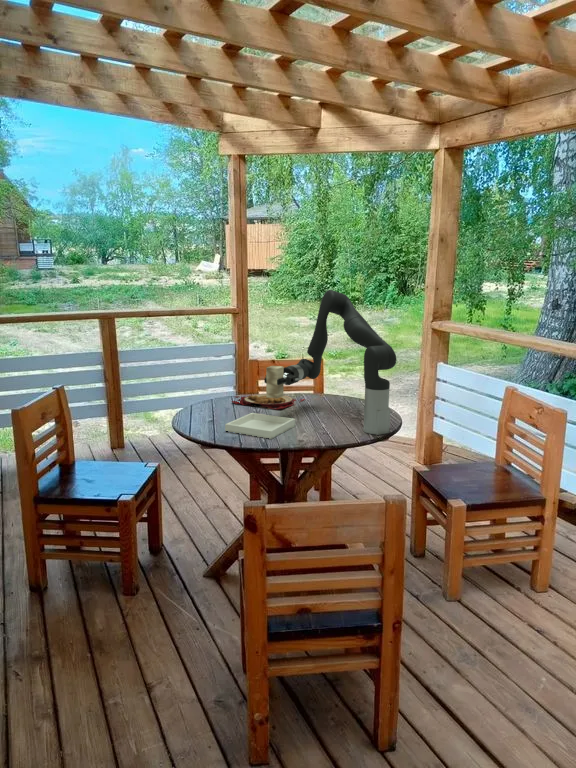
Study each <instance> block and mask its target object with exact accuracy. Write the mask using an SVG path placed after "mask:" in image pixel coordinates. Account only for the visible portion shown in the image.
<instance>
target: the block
mask: <svg viewBox="0 0 576 768" xmlns="http://www.w3.org/2000/svg"><path fill="white" fill-rule="evenodd" d="M284 368H285V367H284V366H280V365H271V366H266V370H265V372H266V375H265V378H267V383H265V384H266V389H265V391H266V393H265V394H266V397H269V398H277V399H278V398H280V397H283V395H284V386H285V384H280V385H277V380H278V379H280V378H283V377H284Z"/></svg>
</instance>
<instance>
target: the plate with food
mask: <svg viewBox="0 0 576 768" xmlns="http://www.w3.org/2000/svg"><path fill="white" fill-rule="evenodd" d="M234 398H236V399H238V400H232V401H230V402H231V403H232V404H235V405H237V404H238V405H241V406H252V404H255V405H260V407H261V409H267V410H283V409H286V408H287V407H292V406H293V405H295V402H296V401H297V399H294V398H292V397H290V396H289V395H284V394H283V397H280V398H278V399H277V398H269V397H266V393H262V394H261V393H259V394H252V395H248V396H239V395H238V396H235V395H234ZM304 400H306V399H305V398H303V399H302V398H300V399H299V401H298V403H300V402H303V401H304ZM237 401H240V403H239V402H237Z"/></svg>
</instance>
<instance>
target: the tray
mask: <svg viewBox="0 0 576 768" xmlns="http://www.w3.org/2000/svg"><path fill="white" fill-rule="evenodd" d="M294 427H296V418H293V417H291V418H290V417H285V416H279V415H278V416H277V415H270V414H264V413H258V412H251V413H248V414H245V415H243V416H241V417H239V418H236V419H234V420H232V421H229V422H227V423H225V424H224V429H225V431H229V432H235V433H234V434H236V433H241V434H240V435H242V434H246V435H245V436H248V435H252V436H251V437H254V436H257V437H256V438H260V437H263V438H262V439H266V438H269V439H268V440H272V439H274V438H276V437H278V436H280V435H282V434H284V433H285V432H287V431H289V430H291V429H292V428H294ZM225 431H224V432H225ZM229 432H228V433H229Z"/></svg>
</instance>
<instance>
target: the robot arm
mask: <svg viewBox="0 0 576 768" xmlns="http://www.w3.org/2000/svg"><path fill="white" fill-rule="evenodd" d="M330 313H331V314H335V315H338V316H339V317H341V319H342V320H343V330H344V332H345V333H346V334H347V336H348V337H349V338H350V339H351V341H352V342H354V343H355V344H357V345H359V346H360V347H363V348H365V350H364V353H363V354H364V355H363V378H364V405H363V407H364V408H363V429H362V430H363V432H364V433H366V434H369V435H377V436H379V435H385V434H389V433H390V425H391V409H390V407H389V405H390V383H391V382H390V381H389V379H386V378H383V377H381V376H380V375H379V374H380V373H379V371H386V370H390V369H393V368H394V367H395V365H396V363H397V356H396V355H397V354H396V352H395V351H394V349H393V347H392V346H391V345H390V344H389V343H388V342H386V341H385V340H384V339H383V338H382V337H381V336H380V335H379V334H378V333H377V332H376V331H375V330H374V328H373V327H371V324H369V322H368V321H367V320H366V319H365V318H364V317H363V316H362V315H361V314H360V312H359V311H358V310H357V309H356V307H355V306H354V304H353V303H352V301H351V300H350V298H349V297H348V295H346V294H345V293H343V292H339V291H336V290H333V289H328V290H326V291H325V292H324V294H323V296H322V298H321V301H320V303H319V308H318V312H317V317H316V322H315V327H314V330H313V335H312V337H311V339H310V343H309V345H308V348H307V349H306V350H307V351H306V353H307V354H308V355H309V356H310V357H311V359H312V360H313V361H311V360H309V359H307V358H301V359H300V360H299V362H298V363H297V364H291V365H288V366H285V367H284V377H283V378H280V379H278V380H277V385H280V384H284V386H290V385H293V384H295V383H296V384H297V383H299V382H300V381H302V380H304V379H306V378H309V379H311V380H315V379H317V378H318V377H319V376H320V374H321V370H322V369H321V368H322V360H323V355H324V352H325V349H326V347H327V344H328V339H329V337H328V335H329V334H328V329H327V328H328V327H327V321H328V316H329V314H330ZM264 383H265V384H266V383H267V378H266V377H264Z"/></svg>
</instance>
